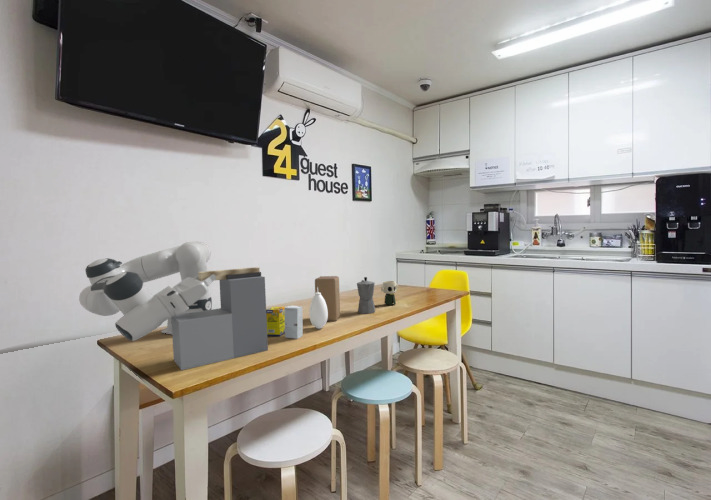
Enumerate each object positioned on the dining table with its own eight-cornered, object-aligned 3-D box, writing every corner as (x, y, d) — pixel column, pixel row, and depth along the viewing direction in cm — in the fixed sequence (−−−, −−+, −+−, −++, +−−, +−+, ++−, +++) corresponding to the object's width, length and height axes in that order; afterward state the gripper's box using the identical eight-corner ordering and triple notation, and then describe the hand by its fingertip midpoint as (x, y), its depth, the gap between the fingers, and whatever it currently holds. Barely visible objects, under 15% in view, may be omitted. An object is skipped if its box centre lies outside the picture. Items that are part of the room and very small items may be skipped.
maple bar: (201, 281, 117) (200, 272, 116) (198, 281, 119) (198, 272, 119) (259, 275, 129) (259, 267, 128) (256, 275, 131) (256, 267, 131)
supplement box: (280, 336, 143) (279, 309, 142) (266, 336, 144) (265, 309, 144) (286, 332, 149) (285, 306, 148) (272, 332, 150) (271, 306, 149)
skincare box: (284, 337, 141) (283, 307, 140) (290, 334, 145) (289, 305, 145) (298, 339, 139) (296, 308, 138) (303, 335, 143) (302, 305, 142)
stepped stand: (181, 370, 109) (176, 280, 108) (173, 360, 119) (169, 277, 118) (267, 350, 126) (264, 272, 125) (255, 342, 136) (251, 270, 135)
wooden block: (320, 316, 176) (319, 276, 176) (340, 316, 175) (339, 275, 174) (315, 321, 167) (314, 278, 166) (336, 321, 165) (335, 278, 164)
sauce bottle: (330, 326, 157) (329, 285, 156) (325, 330, 149) (323, 288, 149) (313, 325, 159) (312, 285, 158) (307, 330, 151) (305, 288, 150)
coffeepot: (379, 314, 178) (377, 278, 177) (360, 315, 176) (359, 279, 175) (371, 308, 193) (370, 274, 192) (354, 309, 191) (353, 275, 190)
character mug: (385, 306, 194) (384, 283, 194) (378, 304, 201) (377, 281, 200) (401, 304, 199) (401, 281, 199) (394, 302, 206) (394, 280, 205)
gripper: (172, 303, 122) (207, 280, 129) (185, 312, 106) (225, 285, 113) (160, 288, 120) (197, 265, 127) (172, 296, 104) (214, 268, 111)
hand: (210, 274), depth 120 cm, fingers open, 8 cm apart
